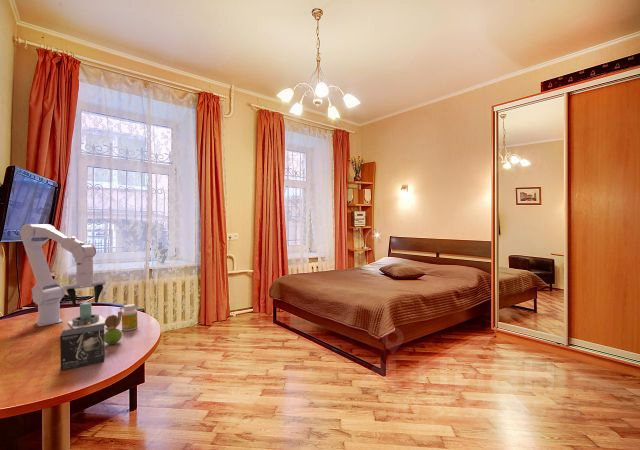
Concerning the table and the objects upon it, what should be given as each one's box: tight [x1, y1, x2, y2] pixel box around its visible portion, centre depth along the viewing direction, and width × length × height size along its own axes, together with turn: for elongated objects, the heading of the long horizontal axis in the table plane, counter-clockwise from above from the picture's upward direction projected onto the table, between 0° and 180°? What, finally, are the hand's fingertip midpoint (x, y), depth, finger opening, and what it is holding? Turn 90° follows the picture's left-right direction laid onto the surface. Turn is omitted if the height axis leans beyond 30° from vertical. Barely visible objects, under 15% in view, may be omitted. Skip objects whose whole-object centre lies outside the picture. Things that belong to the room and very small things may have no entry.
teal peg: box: [79, 302, 93, 320], centre depth 134 cm, size 4×5×8 cm
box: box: [59, 324, 106, 372], centre depth 96 cm, size 11×7×10 cm, turn 123°
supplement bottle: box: [121, 303, 138, 332], centre depth 126 cm, size 5×5×10 cm
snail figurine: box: [104, 307, 124, 345], centre depth 111 cm, size 5×6×12 cm
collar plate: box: [67, 313, 107, 329], centre depth 135 cm, size 15×12×3 cm
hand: (85, 304), depth 134 cm, fingers open, 7 cm apart
